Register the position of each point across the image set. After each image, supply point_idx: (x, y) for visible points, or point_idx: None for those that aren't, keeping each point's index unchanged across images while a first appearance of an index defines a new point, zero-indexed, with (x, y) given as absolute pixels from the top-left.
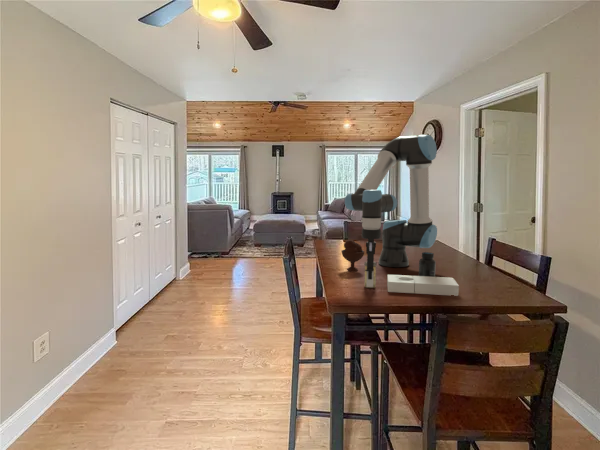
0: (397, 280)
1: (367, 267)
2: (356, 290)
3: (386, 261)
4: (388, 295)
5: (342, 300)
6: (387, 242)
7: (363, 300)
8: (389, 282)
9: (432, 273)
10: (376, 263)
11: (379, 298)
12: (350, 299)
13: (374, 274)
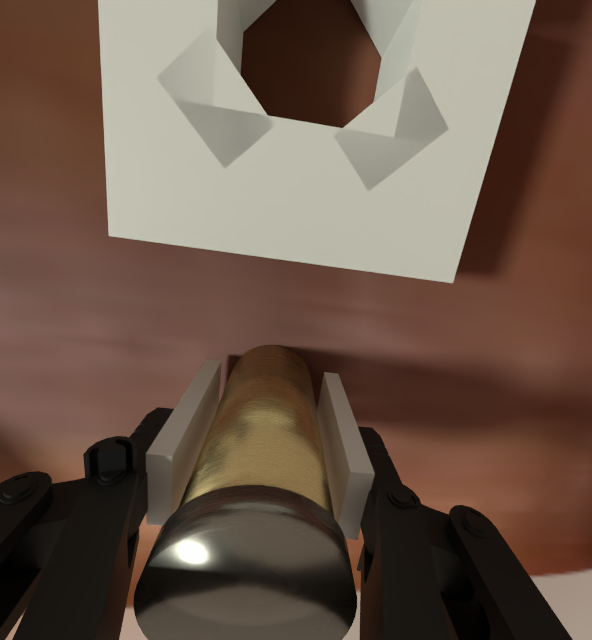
0: (404, 159)
1: (487, 617)
2: None
3: None
4: (500, 279)
5: (554, 533)
6: None
7: (577, 442)
8: (452, 268)
9: None
10: (269, 520)
11: (557, 350)
12: (545, 501)
13: (306, 421)
